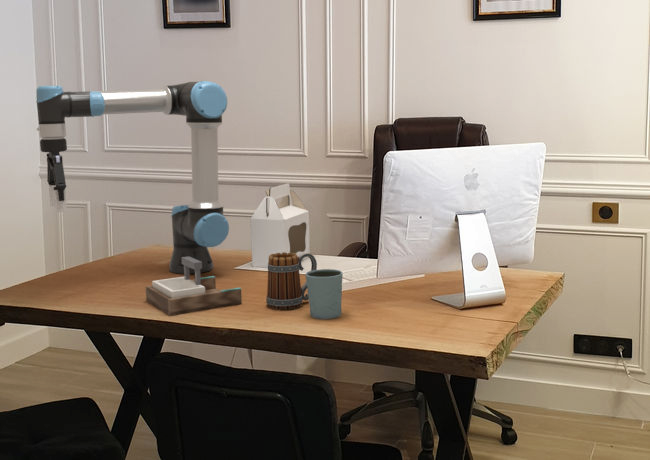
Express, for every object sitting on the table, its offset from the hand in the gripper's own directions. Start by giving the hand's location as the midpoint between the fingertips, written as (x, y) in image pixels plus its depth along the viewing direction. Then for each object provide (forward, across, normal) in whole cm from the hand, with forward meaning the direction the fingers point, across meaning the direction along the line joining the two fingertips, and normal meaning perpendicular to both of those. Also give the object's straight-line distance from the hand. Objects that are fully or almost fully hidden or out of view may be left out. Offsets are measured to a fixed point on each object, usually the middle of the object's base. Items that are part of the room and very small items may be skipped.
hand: (58, 209), depth 253 cm
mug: (+28, +43, +57) cm, 77 cm away
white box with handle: (+26, +27, +29) cm, 47 cm away
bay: (+28, +26, +33) cm, 50 cm away
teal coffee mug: (+28, +58, +61) cm, 88 cm away
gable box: (+28, -15, +78) cm, 85 cm away
